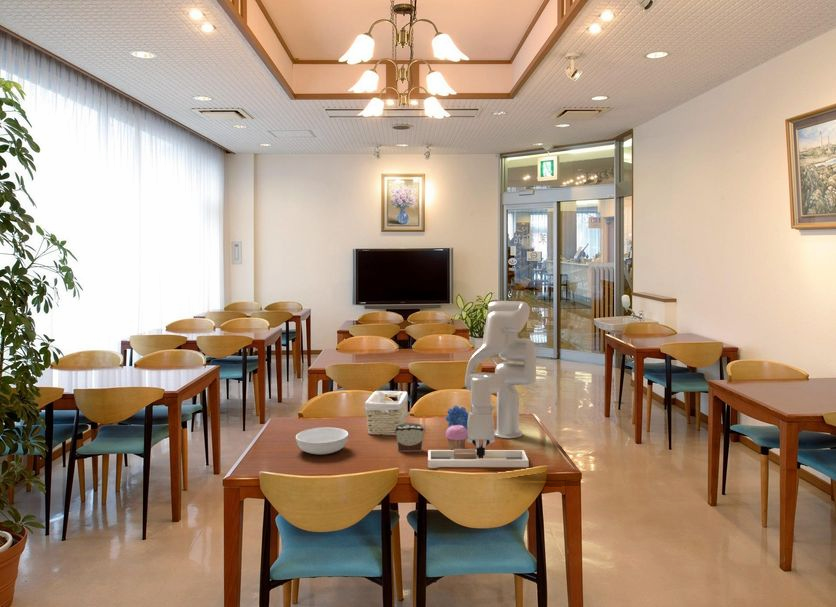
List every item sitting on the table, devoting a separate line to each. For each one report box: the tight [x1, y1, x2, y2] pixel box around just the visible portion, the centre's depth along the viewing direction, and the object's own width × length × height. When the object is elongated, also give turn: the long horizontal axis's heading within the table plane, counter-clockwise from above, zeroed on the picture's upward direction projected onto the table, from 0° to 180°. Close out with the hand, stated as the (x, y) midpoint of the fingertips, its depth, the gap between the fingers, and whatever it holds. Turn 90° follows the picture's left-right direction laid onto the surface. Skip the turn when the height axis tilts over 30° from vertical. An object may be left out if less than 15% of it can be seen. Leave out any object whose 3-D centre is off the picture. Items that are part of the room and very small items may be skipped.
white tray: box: [427, 449, 530, 469], centre depth 243 cm, size 12×37×3 cm, turn 89°
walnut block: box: [454, 448, 476, 459], centre depth 242 cm, size 6×8×4 cm
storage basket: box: [364, 390, 409, 436], centre depth 290 cm, size 24×16×15 cm
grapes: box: [445, 405, 469, 430], centre depth 282 cm, size 12×7×12 cm, turn 102°
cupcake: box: [445, 425, 467, 450], centre depth 258 cm, size 9×9×10 cm
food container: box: [394, 422, 426, 452], centre depth 260 cm, size 12×6×10 cm, turn 92°
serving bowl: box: [295, 426, 349, 456], centre depth 258 cm, size 21×21×7 cm
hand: (480, 457), depth 242 cm, fingers closed
